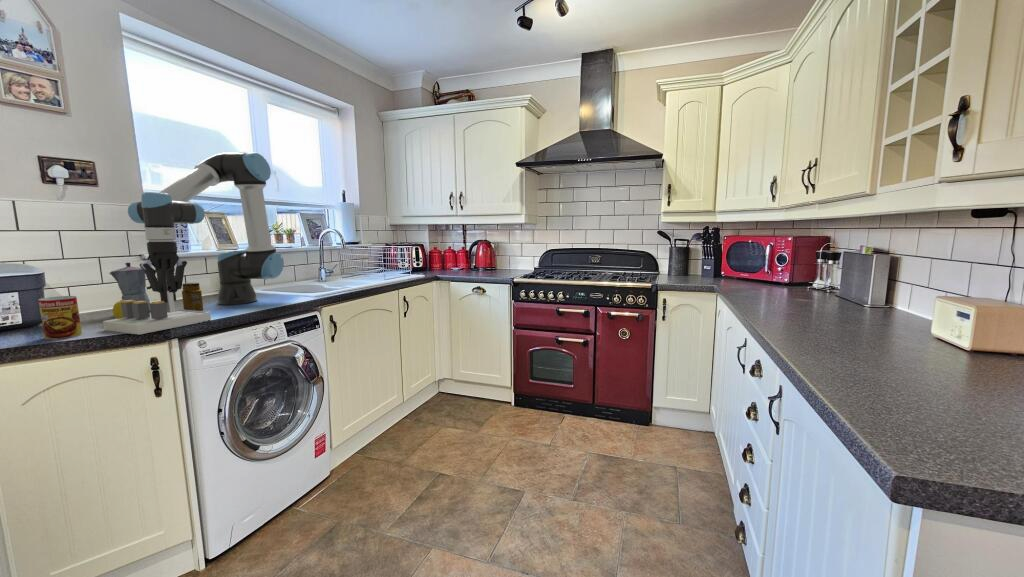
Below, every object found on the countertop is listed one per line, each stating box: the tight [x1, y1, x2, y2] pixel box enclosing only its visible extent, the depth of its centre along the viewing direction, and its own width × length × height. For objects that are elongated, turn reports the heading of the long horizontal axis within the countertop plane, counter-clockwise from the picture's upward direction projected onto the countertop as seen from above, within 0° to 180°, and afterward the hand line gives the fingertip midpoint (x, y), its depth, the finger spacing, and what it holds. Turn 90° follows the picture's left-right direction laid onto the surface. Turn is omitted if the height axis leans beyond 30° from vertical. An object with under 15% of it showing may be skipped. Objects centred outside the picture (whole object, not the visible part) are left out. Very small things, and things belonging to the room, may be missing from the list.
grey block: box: [150, 300, 168, 319], centre depth 137 cm, size 3×3×6 cm
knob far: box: [121, 300, 136, 318], centre depth 139 cm, size 3×3×6 cm
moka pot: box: [108, 262, 157, 312], centre depth 165 cm, size 10×15×20 cm, turn 166°
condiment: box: [181, 282, 204, 311], centre depth 161 cm, size 7×8×12 cm
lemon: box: [112, 299, 125, 319], centre depth 147 cm, size 6×6×8 cm
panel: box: [103, 308, 212, 336], centre depth 142 cm, size 22×18×3 cm
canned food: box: [37, 295, 83, 340], centre depth 127 cm, size 8×8×12 cm
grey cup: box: [132, 301, 151, 319], centre depth 137 cm, size 3×3×6 cm
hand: (170, 311), depth 140 cm, fingers closed
